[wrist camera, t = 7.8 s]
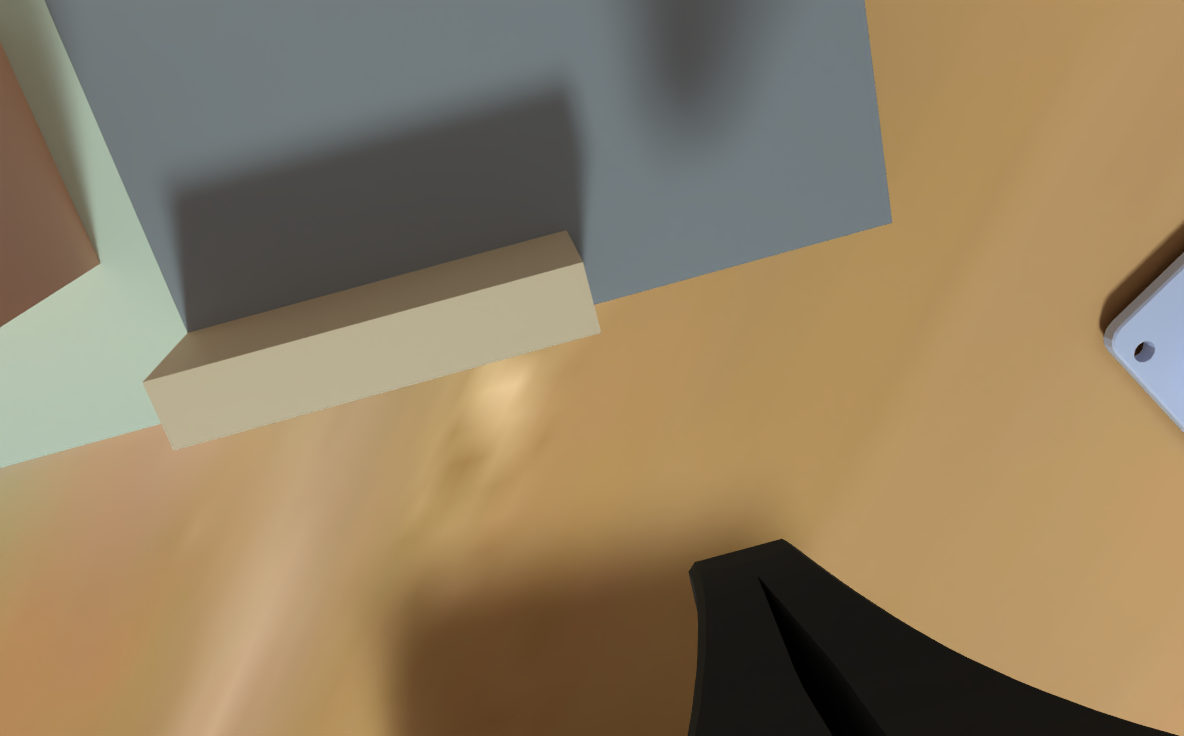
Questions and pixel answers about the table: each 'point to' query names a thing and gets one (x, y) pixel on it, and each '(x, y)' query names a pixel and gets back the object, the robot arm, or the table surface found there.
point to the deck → (457, 173)
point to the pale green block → (92, 301)
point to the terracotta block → (33, 210)
